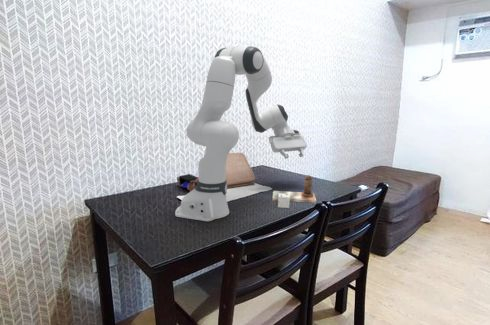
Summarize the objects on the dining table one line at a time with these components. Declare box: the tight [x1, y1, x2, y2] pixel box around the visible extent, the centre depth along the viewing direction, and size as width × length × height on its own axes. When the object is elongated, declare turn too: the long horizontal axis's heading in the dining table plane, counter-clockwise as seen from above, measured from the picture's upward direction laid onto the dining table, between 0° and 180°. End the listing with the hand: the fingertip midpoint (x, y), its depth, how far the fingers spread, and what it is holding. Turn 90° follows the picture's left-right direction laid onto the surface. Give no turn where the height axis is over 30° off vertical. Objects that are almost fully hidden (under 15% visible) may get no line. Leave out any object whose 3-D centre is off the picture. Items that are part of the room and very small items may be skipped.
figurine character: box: [176, 173, 199, 192], centre depth 156 cm, size 7×8×15 cm
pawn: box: [302, 175, 314, 198], centre depth 143 cm, size 5×5×10 cm
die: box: [277, 193, 291, 209], centre depth 134 cm, size 5×5×5 cm
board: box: [272, 190, 317, 204], centre depth 145 cm, size 20×11×1 cm, turn 83°
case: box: [226, 152, 256, 189], centre depth 168 cm, size 20×21×16 cm
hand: (294, 157), depth 150 cm, fingers open, 8 cm apart
